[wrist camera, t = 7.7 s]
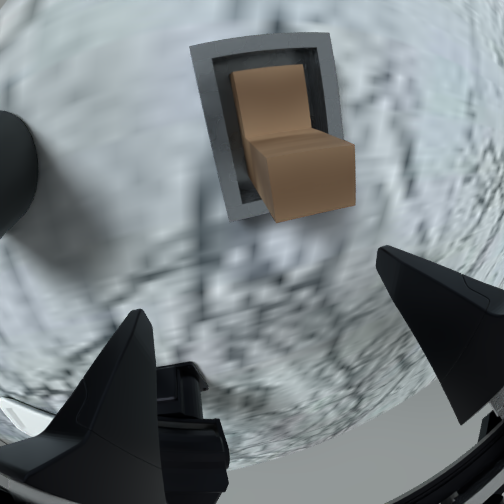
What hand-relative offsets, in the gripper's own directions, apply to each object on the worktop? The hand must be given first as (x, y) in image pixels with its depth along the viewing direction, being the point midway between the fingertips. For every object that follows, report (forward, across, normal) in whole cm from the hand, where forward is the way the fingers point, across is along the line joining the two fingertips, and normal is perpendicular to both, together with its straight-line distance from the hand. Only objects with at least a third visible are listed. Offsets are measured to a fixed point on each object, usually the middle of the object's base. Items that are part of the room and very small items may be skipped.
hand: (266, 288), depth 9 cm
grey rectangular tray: (+11, -3, -4) cm, 12 cm away
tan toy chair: (+10, -3, -4) cm, 11 cm away
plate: (+12, +50, +38) cm, 64 cm away
